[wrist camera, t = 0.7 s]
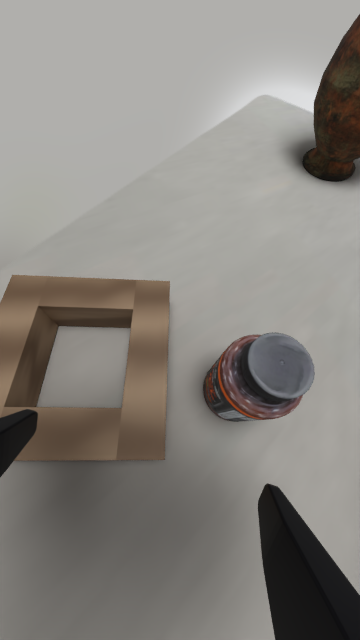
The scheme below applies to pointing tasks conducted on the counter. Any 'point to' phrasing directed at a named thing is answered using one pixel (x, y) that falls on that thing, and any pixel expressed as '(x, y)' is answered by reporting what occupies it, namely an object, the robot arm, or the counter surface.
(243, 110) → the counter surface
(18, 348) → the walnut well
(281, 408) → the supplement bottle
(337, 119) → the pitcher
